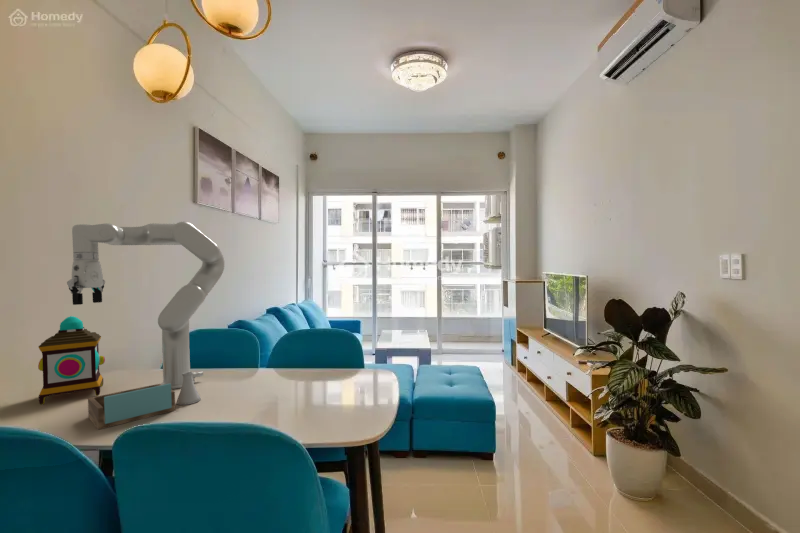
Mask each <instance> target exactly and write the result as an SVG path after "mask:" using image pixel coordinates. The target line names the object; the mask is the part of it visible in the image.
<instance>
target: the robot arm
mask: <svg viewBox="0 0 800 533" xmlns="http://www.w3.org/2000/svg"><path fill="white" fill-rule="evenodd" d="M71 236H72V240H71V241H72V259H73V261H72V265H71V266H72V268H71V279H69V280H68V281H66V284H67V287H68V289H69V291H70V294H72V295H71V296H72V297H71V298H72V305H73V306H77V305H79V306H80V305H83V304H84V302H83V301H84V299H83V293H82V291H83V290H84V289H91V290H92V291H93V292H92V303H94V304H96V303H97V304H98V303H99V304H100V303H102V302H103V292H104V290H103V289H104V288H105V283H106V280H105V279H104V278H103V277H104V276H103V269H102V265H101V264H102V263H101V262H100V261H99V243H101V244H107V245H109V246H163V245H164V246H165V245H168V246H170V245H171V246H173V245H174V246H183V247H184V248H185V249H186V250H187V251H189V253H191V254H193V256H195V257H196V258H197V259H199V260H200V261H201V263H202V264H201V266H200V268H199V269H198V270H197V271H196V273H194V276H193V277H192V278H191V280H190V281H189V282H188V283H187V284H185V285H183V286H181V288H180V289H179V290H178V291H177V292H176V293H175V294H174V296H173V297H172V298H171V299H170V301H169V302H168V303H167V304H166V306H165V307H164V308H163V309H162V310H161V312H160V313H159V314H158V317H157V324H158V327H159V328H160V329H161V353H162V354H161V355H162V356H161V358H162V379H163V380H162V381H163V382H161V383H160V384H161V385H165V384H171V390H176V389H181V388H182V384H183V375H182V374H183V373H186V372H193V374H192V378H193V382H194V384H195V383H196V380H195V378H198V377H199V378H200V377H203V376H204V372H203V370H202V371H191V362H190V360H191V359H190V358H191V357H190V355H191V354H190V319H191V318H192V316H194V314H195V313H196V311H197V310H198V309H199V307H201V305H202V304H203V303H204V302H205V299H206V297H207V296H209V293H210V292H211V291H212V290H213V288H214V287H215V285H217V283H218V281H219V280H220V279H221V277H222V274H223V273H224V270H225V259H224V258H225V257H224V255H223V253H222V251H221V249H220V247H219V246H218V245H217V243H215V242H214V241H213V240H211V239H210V238H209V237H207V236H206V235H205V234H204V233H203V232H202V231H201V230H200V229H198V228H197V227H196V226H195V225H193V224H192V223H191V222H189V221H179V222H177V223H154V222H153V223H147V224H144V225H142V226H117V225H115V224H112V223H99V224H98V223H97V224H84V223H83V224H75V225H73V226H72V228H71Z"/></svg>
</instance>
